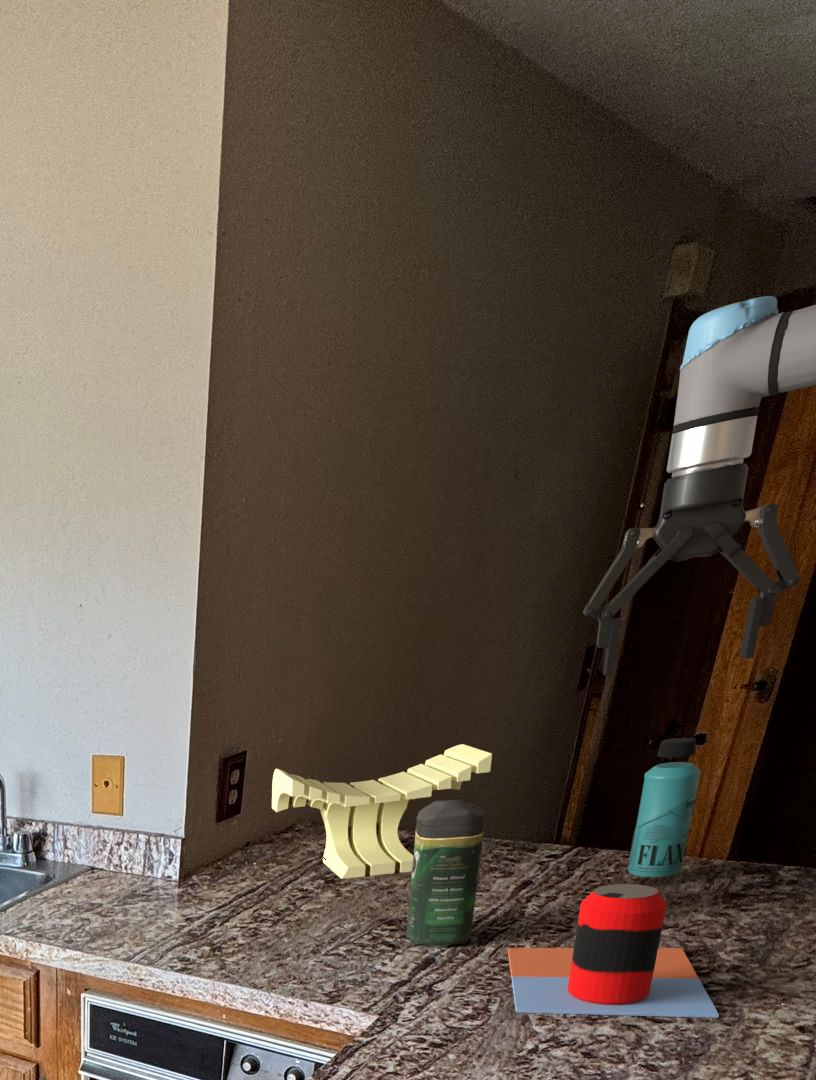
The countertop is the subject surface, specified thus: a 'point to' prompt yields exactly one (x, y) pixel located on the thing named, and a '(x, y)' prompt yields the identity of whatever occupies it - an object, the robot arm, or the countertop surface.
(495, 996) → the countertop surface
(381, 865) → the slatted curved stool
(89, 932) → the countertop surface
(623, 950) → the soda can
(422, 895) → the coffee jar
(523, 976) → the sorting mat
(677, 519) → the robot arm
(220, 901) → the countertop surface
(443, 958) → the countertop surface
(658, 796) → the teal pump bottle
